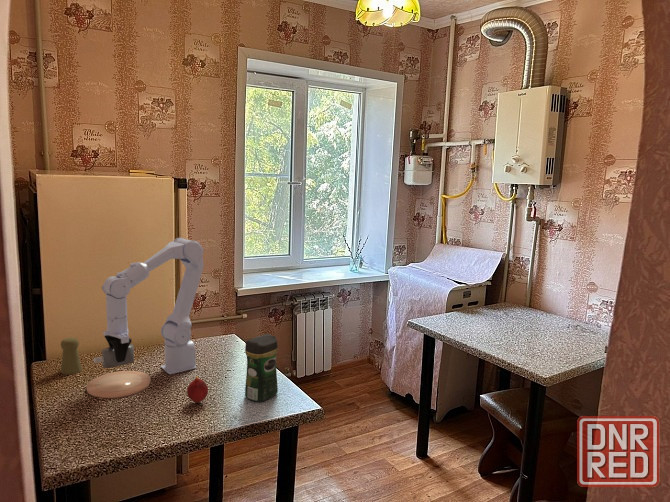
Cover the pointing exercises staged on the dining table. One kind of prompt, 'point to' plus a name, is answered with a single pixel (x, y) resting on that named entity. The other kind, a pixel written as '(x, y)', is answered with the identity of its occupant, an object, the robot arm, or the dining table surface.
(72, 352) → the cork
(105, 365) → the connector
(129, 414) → the dining table surface
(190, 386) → the onion
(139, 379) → the plate
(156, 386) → the dining table surface
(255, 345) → the coffee jar
